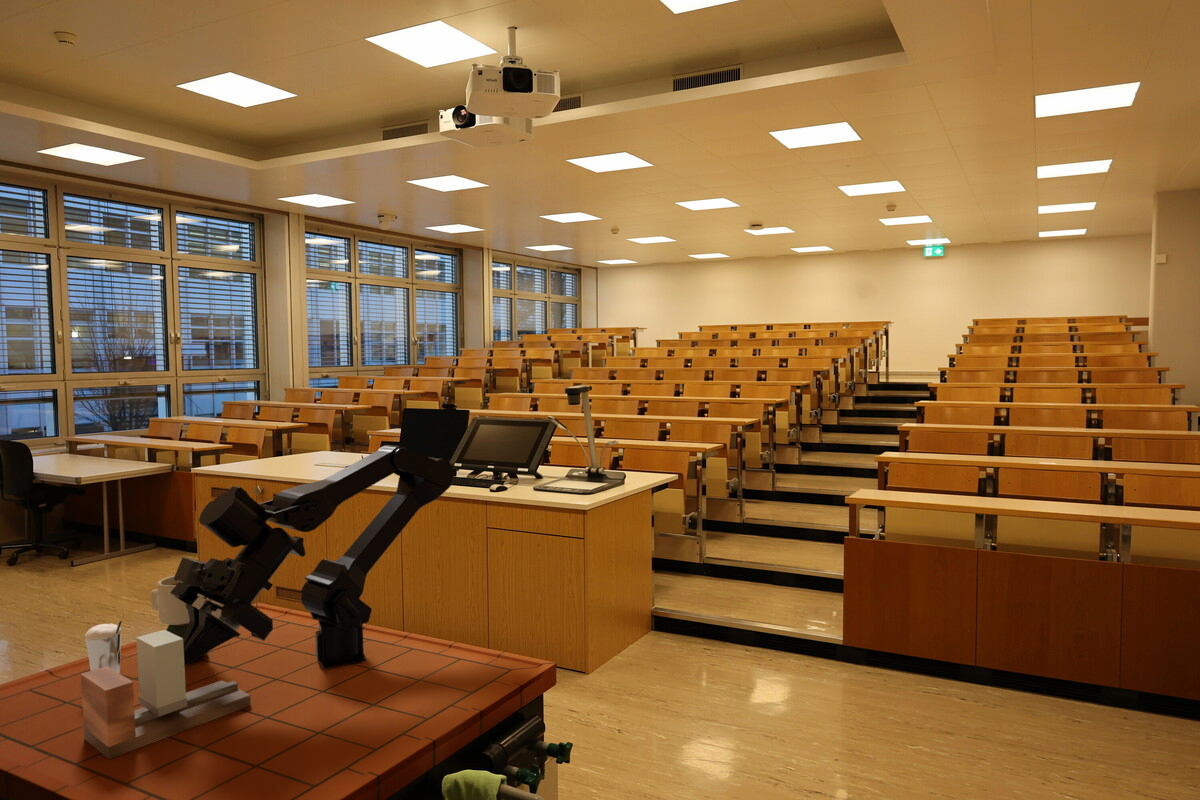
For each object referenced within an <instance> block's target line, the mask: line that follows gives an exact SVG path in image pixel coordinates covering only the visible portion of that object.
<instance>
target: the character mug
mask: <svg viewBox="0 0 1200 800" xmlns="http://www.w3.org/2000/svg"><path fill="white" fill-rule="evenodd" d="M174 576H175V575H171V576H167V577H165V578H161V579H160V580H159V581H157V589H152V590H151V593H150V600H151V602H150V604H151V608H152V610H154V611H158V619H159V622H160V623H161V624H163V625H167V628H166V629H165V630H166V631H168V632H170V633H172V634H174V635H176V636H179V637H181V638H184V635H185V633H186V630H187V627H188V624H189V614H188V609H186V604H185V603H183V602H182V601H181V600H179V599H178V598H176V597H175V596H173V595H172V594H170V592H171V591H172V590H173V589H174V587H175V586H176V585H177V584H178V583H179V582H181V581H178V580H177V581H175V580H173V579H174ZM209 652H210V651H208V652H207V653H205V654H203V655H202V656H204V655H205V656H206V655H207V654H208V653H209ZM202 656H200V657H199V658H202Z"/></svg>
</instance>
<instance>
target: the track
mask: <svg viewBox="0 0 1200 800" xmlns="http://www.w3.org/2000/svg"><path fill="white" fill-rule="evenodd" d="M80 683H81V685H80V686H81V702H82V717H83V718H82V719H83V720H82V721H83V735H84V736H83V737H84V741H86V742H87V743H88V744H89V745H91V746H93V747H94V749H96V750H97V751H98V752H100V753H101V754H102V755H103V756H105V757H106V758H107V759H109V760H111V759H113V758H117V757H120V756H122V755H124V754H126V753H129V752H133V751H134V750H138V749H140V748H143V747H145V746H148V745H151V744H154V743H155V742H158V741H160V740H163V739H167V738H169V737H171V736H174V735H177V734H180V733H182V732H185V731H186V730H187V731H188V730H190V729H192V728H195V727H198V726H201V725H203V724H205V723H208V722H210V721H214V720H216V719H220V718H222V717H224V716H227V715H229V714H232V713H235V712H238V711H240V710H243V709H245V708H249V707H250V706H251V694H249V693H247V692H246V691H243V690H242V689H239V685H238V684H239V683H238V682H236V681H235V680H232V681H229V682H226V681H224V680H219V681H216V682H213V683H209V684H207V685H204V686H201V687H198V688H195V689H193V690H192V689H191V690H190V691H187V692H186V699H187V707H184V708H181V709H179V710H176V711H173V712H170V713H167V714H165V715H162V716H157V715H156V714H154V713H152V712H151V711H149V710H148V709H146V708H145V707H143V706H142V707H140V708H138V709H135V697H134V696H135V695H134V682H133V681H132V680H131V679H129V678H127V677H126V676H124V675H122V674H121V673H120V674H119V673H118V672H116V671H114V670H113V669H111V668H110V667H108V666H106V667H102V668H99V669H96V670H92V671H91V670H89V671H86V672H82V673H80Z"/></svg>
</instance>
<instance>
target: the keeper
mask: <svg viewBox="0 0 1200 800" xmlns="http://www.w3.org/2000/svg"><path fill="white" fill-rule="evenodd" d="M166 630H167V629H162V630H159V631H155V632H151V633H148V634H144V635H141V636H136V638H135V639H136V657H137V659H136V660H137V674H138V675H137V676H138V679H137V680H138V693H139V695H138V703H139V705H140V706H142V708H143V707H145V708H146V709H148V710H149V711H151V712H152V713H154V714H156V715H157V716H162V715H165V714H167V713H170V712H173V711H176V710H179V709H181V708H184V707H187V699H186V691H187V690H186V669H185V668H186V666H184V646H183V638H181V637H179V636H176V635H174V634H172V633H170V632H168V631H166Z"/></svg>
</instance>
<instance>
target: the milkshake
mask: <svg viewBox="0 0 1200 800" xmlns="http://www.w3.org/2000/svg"><path fill="white" fill-rule="evenodd" d="M122 622H123V620H119V622H118V624H116V623H102V624H97V625H94V626H92V627H91V628H89V629H88V631H87V632H86V633H84V634H85V635H84V640H85V644H86V650H87V651H86V652H87V655H88V661H89V668H90V669H89V671H92V670H96V669H99V668H102V667H106V666H108V667H110V668H111V669H113V670H114V671H116V672H118V673H119V674H121V648H122V647H121V646H122V634H123V633H122V632H123V631H122V630H123V629H122V627H121V626H122Z"/></svg>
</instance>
